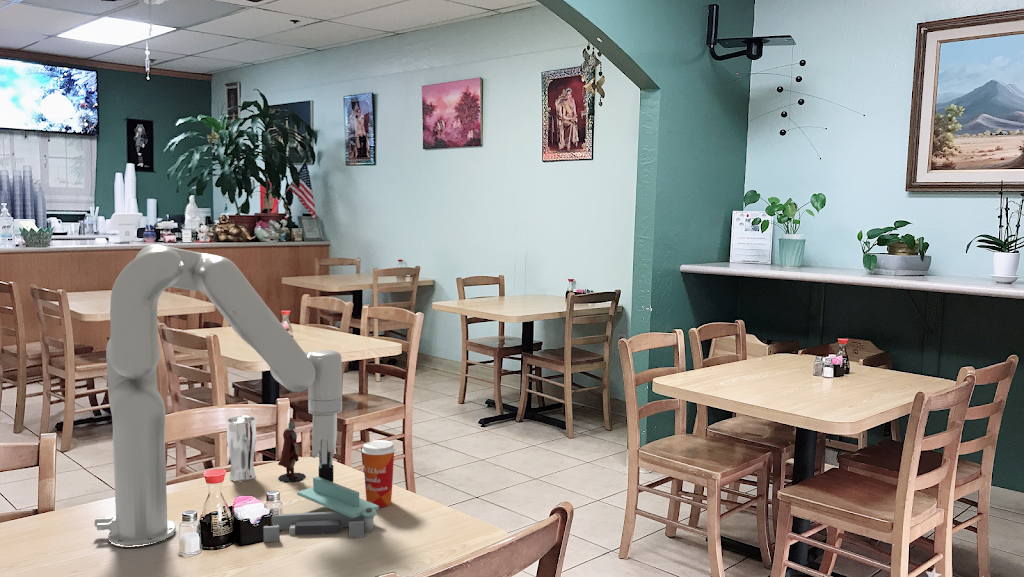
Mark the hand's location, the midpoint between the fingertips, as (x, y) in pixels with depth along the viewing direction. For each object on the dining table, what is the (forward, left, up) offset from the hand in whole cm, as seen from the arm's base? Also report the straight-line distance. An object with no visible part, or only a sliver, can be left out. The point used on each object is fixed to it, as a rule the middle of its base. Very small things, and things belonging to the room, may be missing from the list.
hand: (326, 482), depth 181 cm
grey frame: (-1, -17, -5) cm, 18 cm away
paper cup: (+12, -2, -5) cm, 13 cm away
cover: (+4, -10, -1) cm, 10 cm away
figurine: (-10, +18, -5) cm, 21 cm away
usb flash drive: (0, -17, -5) cm, 17 cm away
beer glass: (-22, +20, -5) cm, 30 cm away
